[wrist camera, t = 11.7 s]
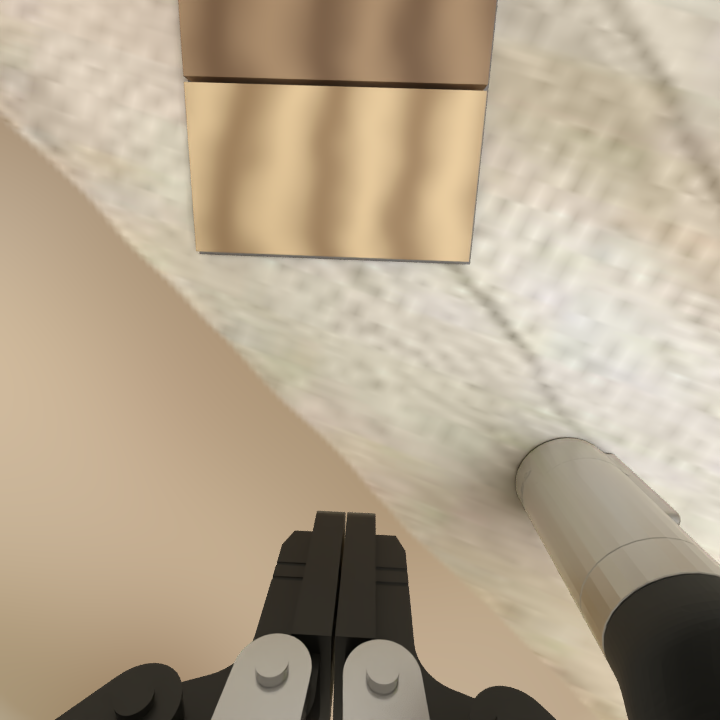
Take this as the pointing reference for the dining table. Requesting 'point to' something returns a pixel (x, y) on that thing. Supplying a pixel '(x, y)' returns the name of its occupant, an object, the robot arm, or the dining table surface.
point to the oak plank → (334, 170)
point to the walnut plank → (339, 42)
